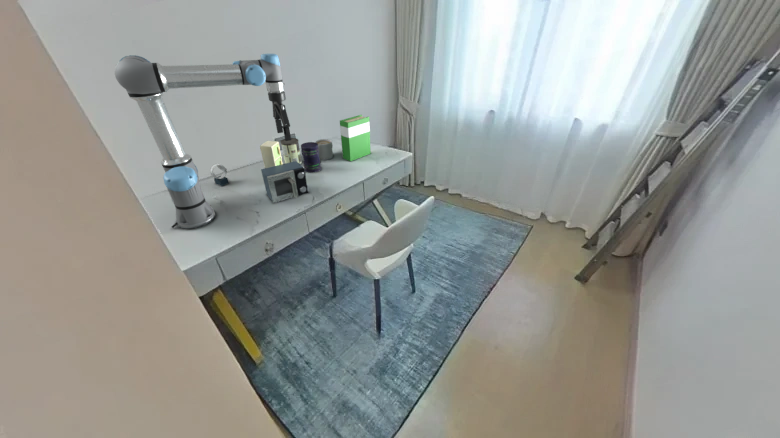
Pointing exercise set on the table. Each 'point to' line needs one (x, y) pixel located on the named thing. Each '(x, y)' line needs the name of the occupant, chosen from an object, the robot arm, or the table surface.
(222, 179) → the watch
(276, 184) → the microwave door
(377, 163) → the table surface
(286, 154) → the coffee can
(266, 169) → the microwave
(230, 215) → the table surface
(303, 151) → the storage jar
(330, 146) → the coffee mug
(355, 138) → the hardback book
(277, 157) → the toy refrigerator
